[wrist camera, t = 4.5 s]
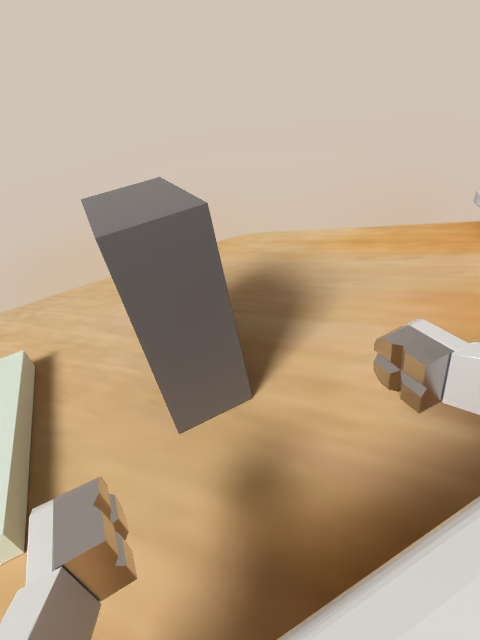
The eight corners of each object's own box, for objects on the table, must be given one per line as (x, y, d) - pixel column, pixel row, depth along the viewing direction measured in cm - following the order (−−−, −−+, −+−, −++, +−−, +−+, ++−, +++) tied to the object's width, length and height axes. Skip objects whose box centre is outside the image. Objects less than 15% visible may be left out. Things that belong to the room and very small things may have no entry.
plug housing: (205, 332, 24) (159, 177, 18) (252, 397, 18) (207, 203, 13) (147, 356, 23) (80, 199, 17) (179, 433, 17) (95, 238, 12)
